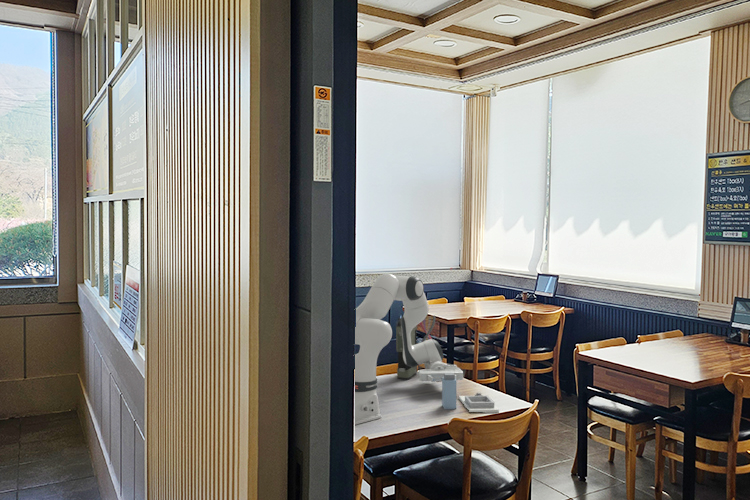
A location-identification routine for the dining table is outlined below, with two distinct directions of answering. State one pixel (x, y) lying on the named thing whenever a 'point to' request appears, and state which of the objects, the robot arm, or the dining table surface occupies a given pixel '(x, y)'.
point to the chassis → (479, 403)
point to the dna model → (427, 327)
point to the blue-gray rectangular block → (449, 391)
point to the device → (402, 370)
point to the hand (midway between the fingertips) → (443, 379)
